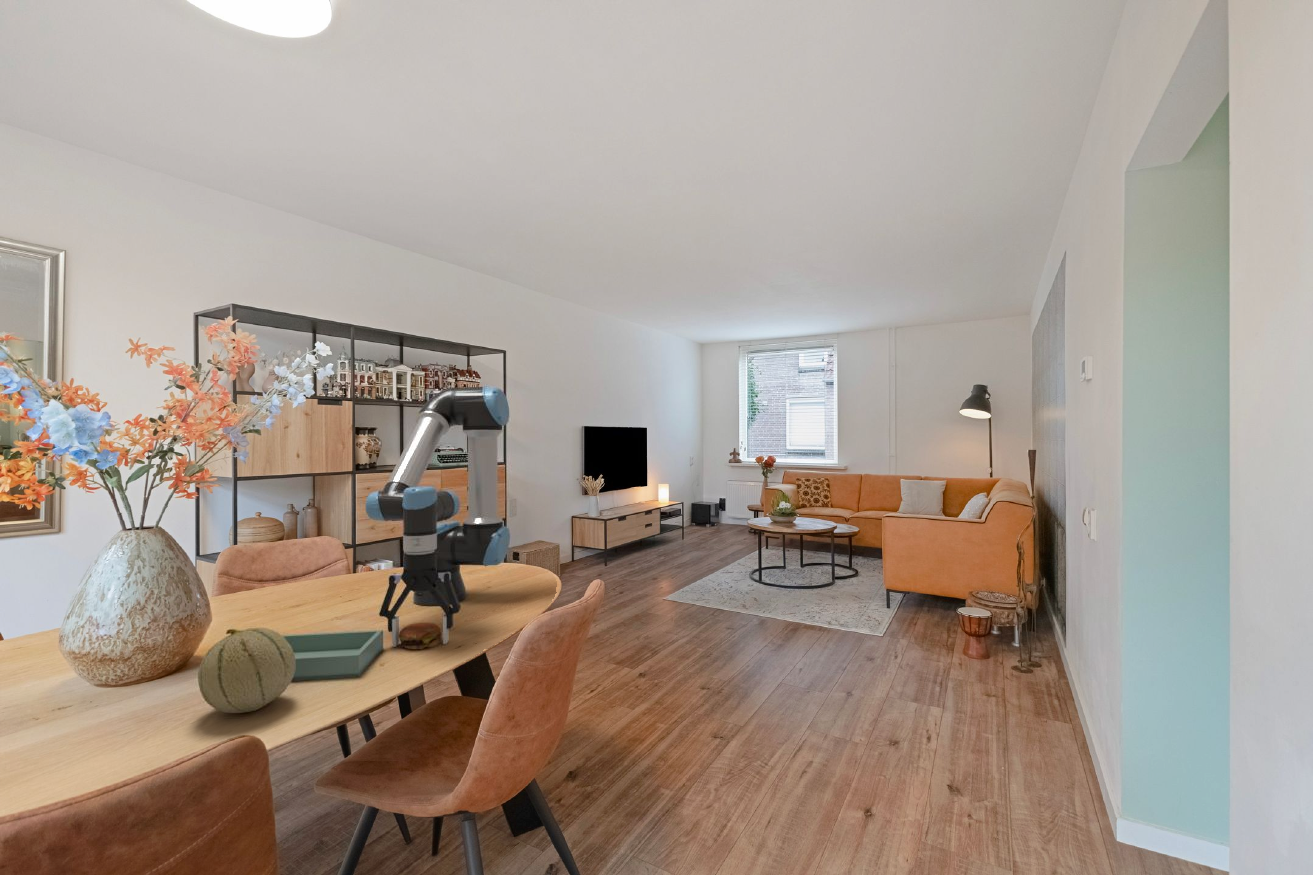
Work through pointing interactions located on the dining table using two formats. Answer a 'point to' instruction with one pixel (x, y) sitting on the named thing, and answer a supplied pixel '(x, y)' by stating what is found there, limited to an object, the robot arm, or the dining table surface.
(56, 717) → the dining table surface
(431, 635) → the burger
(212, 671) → the cantaloupe
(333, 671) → the teal tray
